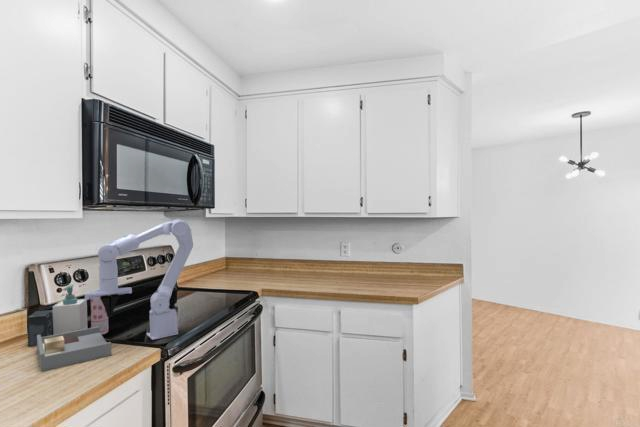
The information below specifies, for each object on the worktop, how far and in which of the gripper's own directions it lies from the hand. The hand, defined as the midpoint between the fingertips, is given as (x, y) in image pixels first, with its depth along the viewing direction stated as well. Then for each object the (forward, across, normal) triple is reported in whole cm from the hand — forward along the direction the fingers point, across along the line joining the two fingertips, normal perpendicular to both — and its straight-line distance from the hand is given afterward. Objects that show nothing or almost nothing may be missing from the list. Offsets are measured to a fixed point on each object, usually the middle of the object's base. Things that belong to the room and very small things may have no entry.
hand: (109, 316), depth 134 cm
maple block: (+7, +16, +2) cm, 18 cm away
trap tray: (+9, +11, +2) cm, 15 cm away
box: (+10, +19, -17) cm, 27 cm away
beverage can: (+10, +1, -14) cm, 17 cm away
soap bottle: (+10, +10, -17) cm, 22 cm away
